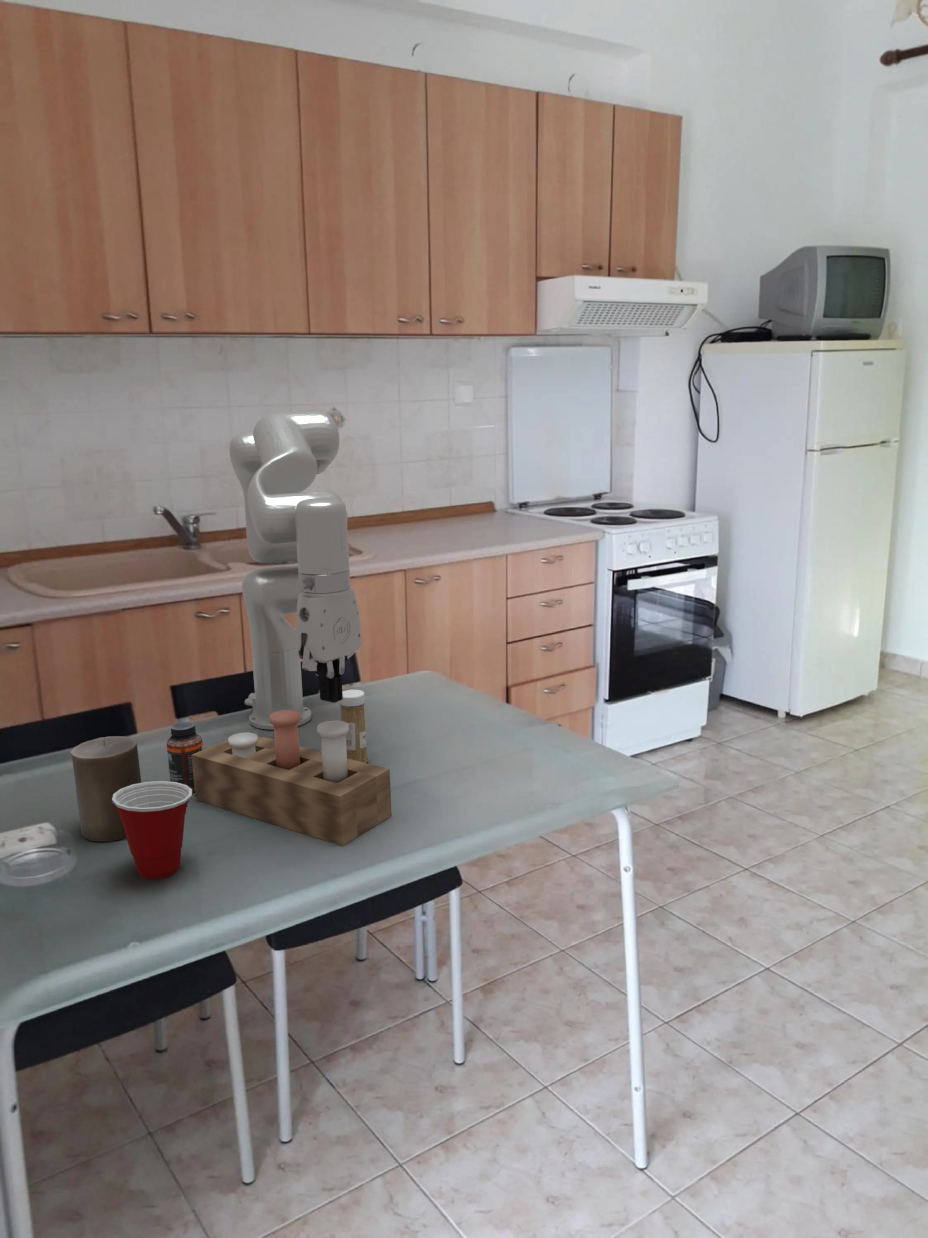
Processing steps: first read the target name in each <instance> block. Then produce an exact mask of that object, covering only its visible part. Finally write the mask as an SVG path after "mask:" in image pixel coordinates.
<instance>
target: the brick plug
mask: <svg viewBox="0 0 928 1238" xmlns="http://www.w3.org/2000/svg"><path fill="white" fill-rule="evenodd" d="M300 720H301V719H300V712H298V711H295V710H280V711H276V712H273V713H272V714H270V723H271V724H272V725H273V726H274V730H273V740H275V753H276V767H279V768H283V769H287V770H290V769H292V768H294V767H296V766H298V765H300V752H299V746H300V739H299V738H300V737H299V726H298V722H300Z"/></svg>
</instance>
